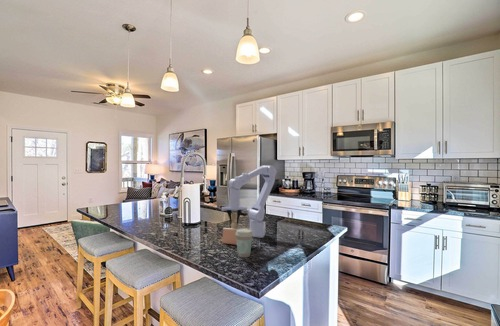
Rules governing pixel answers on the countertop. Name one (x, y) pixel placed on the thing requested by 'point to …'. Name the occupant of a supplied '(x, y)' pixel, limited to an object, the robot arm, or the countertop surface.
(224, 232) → the tile
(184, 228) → the countertop surface
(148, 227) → the countertop surface
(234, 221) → the stick
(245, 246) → the coffee cup
